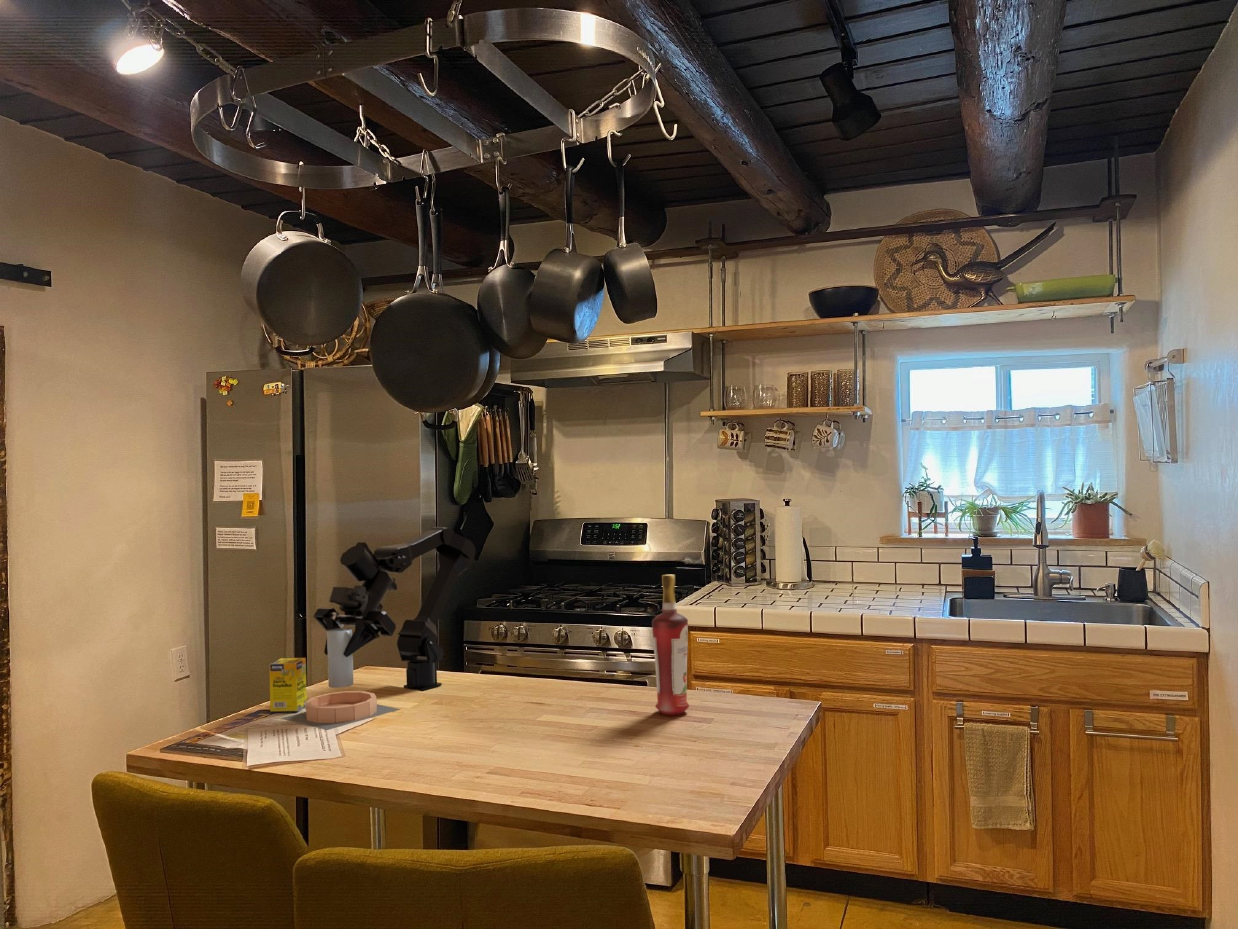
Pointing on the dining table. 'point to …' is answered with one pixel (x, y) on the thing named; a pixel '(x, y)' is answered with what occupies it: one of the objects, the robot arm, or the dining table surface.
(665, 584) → the liquor
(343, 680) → the cylinder
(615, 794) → the dining table surface
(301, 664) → the supplement box
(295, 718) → the mat
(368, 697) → the dish
